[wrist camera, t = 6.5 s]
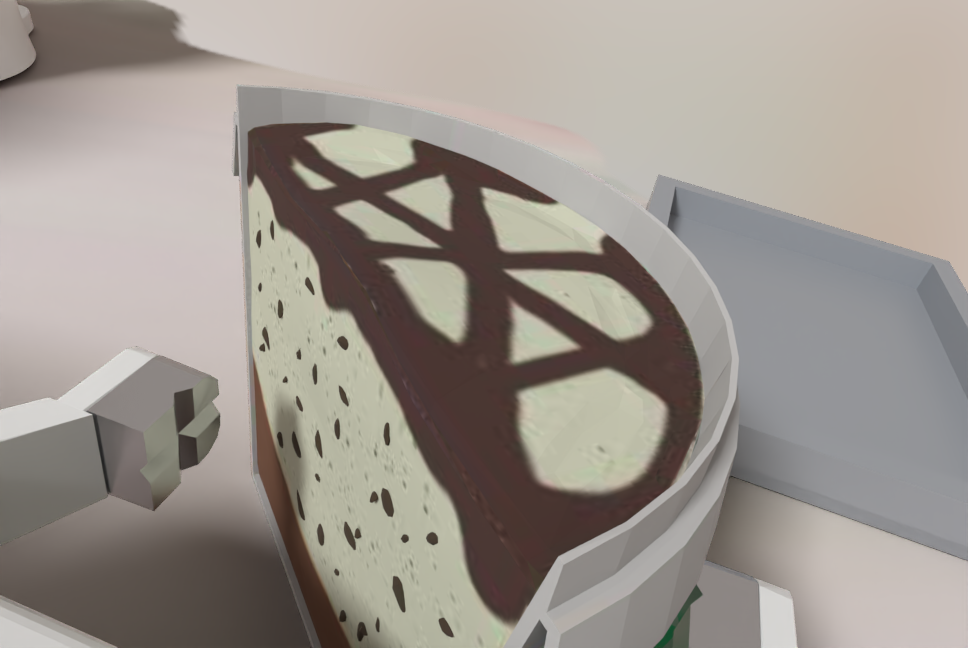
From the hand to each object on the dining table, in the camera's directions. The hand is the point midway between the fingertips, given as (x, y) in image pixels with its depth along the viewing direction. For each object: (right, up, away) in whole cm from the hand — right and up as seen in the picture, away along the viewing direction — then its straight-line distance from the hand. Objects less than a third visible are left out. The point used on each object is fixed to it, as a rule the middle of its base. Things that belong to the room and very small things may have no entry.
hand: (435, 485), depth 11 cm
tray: (+14, +2, +18) cm, 23 cm away
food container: (-1, -4, +5) cm, 7 cm away
